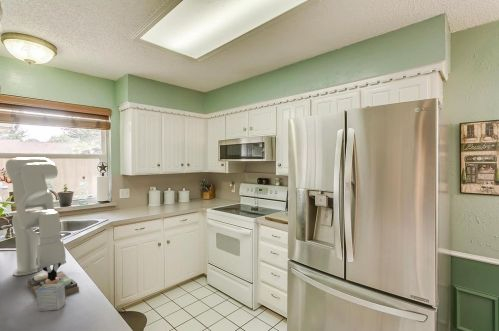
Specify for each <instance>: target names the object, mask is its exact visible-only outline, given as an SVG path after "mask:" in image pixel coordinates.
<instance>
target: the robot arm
mask: <svg viewBox="0 0 499 331" xmlns="http://www.w3.org/2000/svg"><path fill="white" fill-rule="evenodd" d="M5 171H6V175H7V176H8V177H9V179H10V182H11V184H12V190H13V191H12V192H13V202H14V206H15V208H16V214H15V215H13V216H12V219H11V224H12V227H13V231H14V237H15V252H16V253H15V254H16V269H15V270H14V271H13V272H12V273H13V276H18V277H21V276H27V275H31V274H34V273H38V272H40V271H41V272H42V271H44V272H45V273H48V279H50V280H51V281H53V280H56V277H57V272H58V270H59V268H60V267H61V266H62V265H64V264H67V261H66V259H67V256H66V249H65V244H64V241H63V238H65V234H62V233H61V218H60V213H59V212H58V211H56V210H55V204H54V197H53V193H52V191H50V190H49V188H48V186H47V181H46V180H49V179H50V180H53V179H55V178H57V176H58V174H59V173H58V168H57V165H56V164H55V163H54V161H51V160H50V159H49V158H46V157H15V158H11V159H9V160H7V161H6V163H5ZM35 208H42V209H36V210H35ZM28 209H34V210H28ZM27 210H28V211H27ZM36 228H37V229H38V233H37V232H36V231H35V230H34V229H36ZM51 266H52V268H51Z"/></svg>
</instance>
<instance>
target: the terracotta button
mask: <svg viewBox="0 0 499 331" xmlns="http://www.w3.org/2000/svg"><path fill="white" fill-rule="evenodd" d="M58 281H59V277H56V280H53V281H51V280H50V279H47V280H46V281H45V284H53V283H56V282H58Z"/></svg>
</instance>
